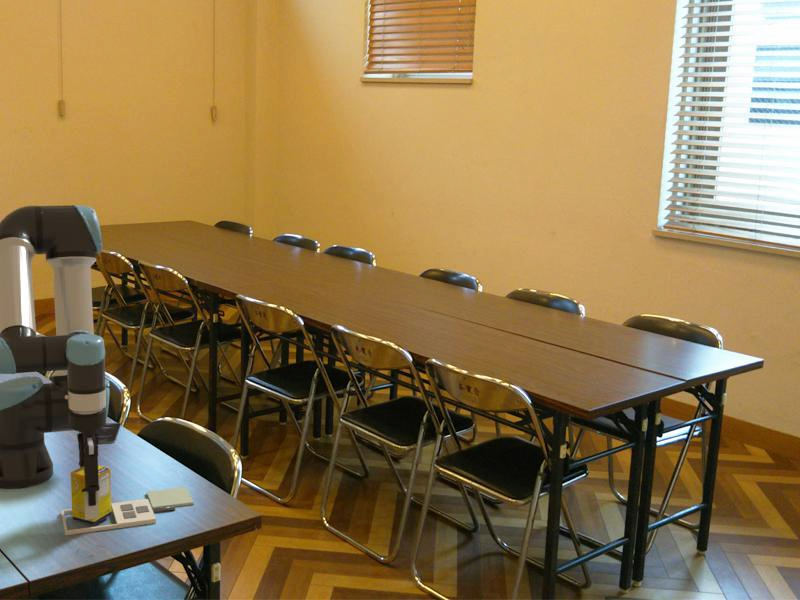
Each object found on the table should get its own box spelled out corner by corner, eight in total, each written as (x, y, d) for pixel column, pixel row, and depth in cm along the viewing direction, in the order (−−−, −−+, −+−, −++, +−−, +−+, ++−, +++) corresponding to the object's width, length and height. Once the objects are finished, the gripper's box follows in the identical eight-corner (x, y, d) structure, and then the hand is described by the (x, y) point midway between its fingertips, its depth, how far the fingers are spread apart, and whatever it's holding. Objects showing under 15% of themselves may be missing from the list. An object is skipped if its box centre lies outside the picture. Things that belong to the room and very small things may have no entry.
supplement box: (89, 509, 208) (88, 462, 206) (112, 514, 206) (111, 467, 204) (71, 520, 203) (69, 472, 201) (94, 525, 201) (92, 477, 198)
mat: (146, 494, 219) (146, 491, 219) (185, 489, 223) (185, 486, 222) (153, 509, 211) (153, 507, 211) (193, 504, 215) (193, 502, 214)
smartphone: (121, 423, 264) (114, 441, 249) (121, 426, 264) (114, 444, 250) (93, 423, 263) (85, 442, 248) (93, 426, 263) (85, 445, 248)
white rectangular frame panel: (61, 513, 207) (60, 508, 207) (170, 500, 216) (170, 495, 216) (65, 535, 197) (65, 529, 197) (179, 519, 207) (179, 514, 206)
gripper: (64, 395, 207) (67, 492, 212) (72, 427, 188) (75, 533, 193) (100, 392, 210) (102, 488, 215) (112, 423, 191) (114, 527, 196)
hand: (89, 509), depth 204 cm, fingers closed on supplement box, 8 cm apart
